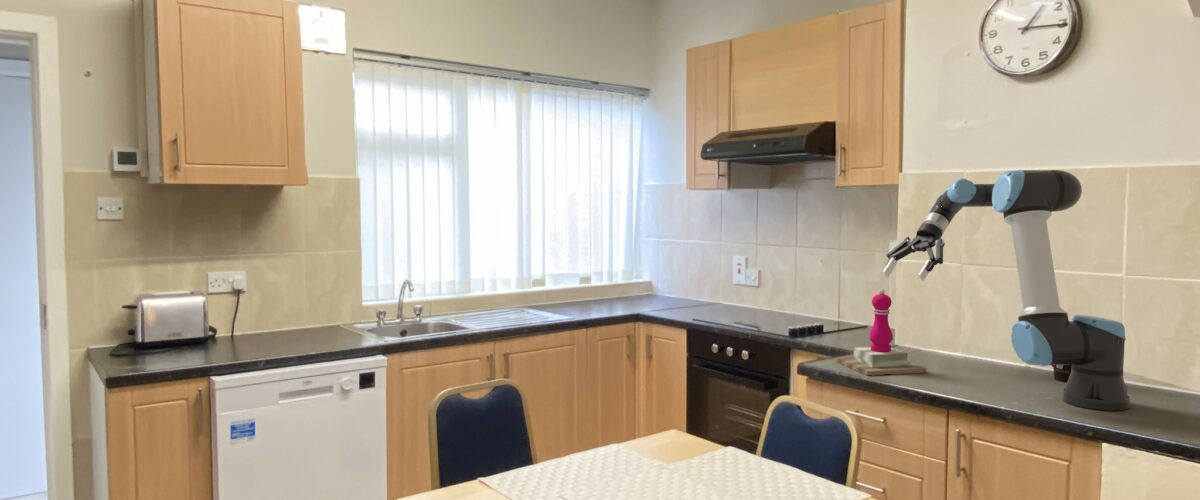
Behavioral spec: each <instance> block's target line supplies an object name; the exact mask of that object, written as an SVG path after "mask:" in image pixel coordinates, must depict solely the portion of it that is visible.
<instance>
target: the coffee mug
mask: <svg viewBox="0 0 1200 500" xmlns="http://www.w3.org/2000/svg"><path fill="white" fill-rule="evenodd" d="M1050 366H1051V367H1052V368H1053V377H1054V380H1055V381H1058V382H1061V383H1067V382H1068V379H1069V377H1070V374H1071V366H1072V365H1050Z"/></svg>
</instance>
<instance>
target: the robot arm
mask: <svg viewBox="0 0 1200 500" xmlns="http://www.w3.org/2000/svg"><path fill="white" fill-rule="evenodd" d="M1082 192H1083V188H1082V184H1081V181H1080V180H1079V178H1077V176H1075V175H1074V174H1072V173H1070V172H1068V171H1065V170H1059V169H1050V170H1047V169H1043V170H1041V169H1040V170H1039V169H1037V170H1036V169H1035V170H1034V169H1030V170H1029V169H1026V170H1025V169H1024V170H1023V169H1017V170H1007V171H1004V172H1003V173H1001V174H1000V175H999V176H998V178H997V179H996V181H995V183H978V184H977V183H974V182H973V181H971V180H968V179H967V178H959V179H957V180H955V181H954V182H953V183H951V184H950V186H948V188H947V189H946V190H945V191H943V192H942V193H941V194H940V195H939V196H938V197H937V199H936V201H935V203H934V204H933V206H932V208H931V209H930V211H929V212H928V214H927V216H926V217H925V218H924V220H923V221H922V223H921V224H920V226H919V228H918V229H917V231H916V235H915V237H914V238H910V237H909V236H906V237H905V238H904V239H903V241H902V242H900V243H899V244H897V246H895V247H894V248H893V249H891V250H890V251H889V252H888V253H886V255H885V256H886V257H887V258H888V261H887V262H886V263H885V264H886V265H885V268H884V269H883V270H882V273H883V275H884V276H885V277H886V278H889V277H890V275H891V274H892V272H893V270H894V269H895V268H896V266H897V264H898V261H899V260H901V259H903V258H904V257H907V256H908V255H911V254H912V253H916V252H923V253H924V252H926V253H927V254H928V258H929V259H927V260H926V262H925V263H924V265H923V266H922V268H921V270H920V271H919V273H918V275H917V276H918V277H919V279H920V280H921V281H925V279H926V278H927V276H928V275H929V274H930V272H932V271H933V269H934V267H935V266H936V265H943V263H944V247H945V246H946V245H945V244H946V243H945V241H944V240H943V238H942V237H943V234H944V233H945V232H946V230H947V229H948V227H949V225H950V224H951V222H952V221H953V219H954V218H955V216H956V215H957V214H958V213H959V211H961V210H962V209H963V208H965V207H966V208H969V207H974V208H975V207H976V208H978V207H979V208H980V207H981V208H982V207H985V208H986V207H992V206H993V209H994V210H995V211H996V212H997V213H1000V214H1003V220H1004V222H1005V223H1006V224H1008V225H1010V227H1011V233H1012V240H1013V241H1012V242H1013V247H1014V254H1015V261H1016V267H1017V268H1016V269H1017V275H1018V280H1019V287H1020V295H1021V302H1022V312H1020V314H1018V315H1017V319H1018V321H1017V322H1015V323H1014V324H1013V326H1012V328H1011V331H1012V332H1011V333H1010V339H1011V344H1012V347H1013V350H1014V352H1015V354H1016V355H1017V356H1018V358H1019V359H1020V360H1021V361H1022V362H1023V363H1025V364H1026V365H1027V364H1028V365H1029V366H1030V365H1031V366H1040V367H1046V366H1047V367H1048V366H1051V365H1072V366H1071V374H1070V377H1069V379H1068V382H1066V385H1065V387H1064V388H1063V390H1062V400H1063V401H1064V402H1065V403H1067V404H1070V405H1072V406H1077V407H1079V408H1084V409H1092V410H1098V411H1110V412H1111V411H1113V412H1114V411H1125V410H1128V409H1130V408H1131V407H1130V406H1131V398H1130V396H1129V395H1128V394H1129V393H1128V389H1127V385H1126V383H1125V380H1124V368H1125V367H1124V365H1125V344H1126V343H1125V342H1126V330H1125V328H1126V327H1125V325H1124V324H1123V323H1122V322H1120V321H1118V320H1114V319H1111V318H1110V319H1108V318H1105V317H1098V316H1091V315H1085V314H1084V315H1083V314H1074V315H1073V318H1072V319H1071V320H1072V321H1071V320H1070V319H1069V315H1068V312H1067V311H1065V310H1064V309H1063V308H1062V307H1061V305H1060V299H1059V293H1058V285H1057V281H1056V273H1055V266H1054V260H1053V254H1052V249H1051V247H1052V246H1051V242H1050V237H1049V236H1050V235H1049V230H1048V220H1049V219H1050V218H1051V217H1052V216H1053V215H1052V214H1053V212H1060V211H1061V212H1062V211H1064V210H1065V211H1066V210H1068V209H1070V208H1072V207H1074V206H1075V205H1076V204H1077V203H1078V202H1079V201H1080V198H1081V197H1082ZM941 206H942V207H941ZM934 247H936V248H935V249H936V251H935V254H934V251H933V248H934Z"/></svg>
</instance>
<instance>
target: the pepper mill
mask: <svg viewBox="0 0 1200 500" xmlns="http://www.w3.org/2000/svg"><path fill="white" fill-rule="evenodd" d="M885 292H886V291H885V290H884V289H879V290H878V293H877V294H875V295H873V297H872V298H871V306H873V309H872V310H873V311H872V314H874V319H873V320H874V321H873V324H872V326H871V329H870V331H869V335H868V338H869V340H870V342H871V343H870V346H869V347H870V349H871V350H872V351H875V352H890V351H891V348H892V346H891V342H893V340H894V338H893V336H894V335H893V331H892V330H891V327H890V324H889V315H890V311H891V310H890V307H891V306H892V302H893V301H892V298H891V297H890V295H887V294H886V293H885Z"/></svg>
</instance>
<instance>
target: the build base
mask: <svg viewBox="0 0 1200 500" xmlns="http://www.w3.org/2000/svg"><path fill="white" fill-rule="evenodd" d="M870 347H871V346H860V347H859V346H857V347H856V346H855V347H853V356H839V357H838V356H837V357H836V363H838V362H840V363H842V364H841V365H843V364H844V365H843V366H845V365H846V366H845V367H847V366H848V367H847V368H849V367H850V369H851V368H852V369H851V370H853V369H854V370H853V371H856V372H858V373H860V372H861V374H862V373H863V374H862V375H864V374H865V375H864V376H866V375H867V377H869V376H868V375H872V376H885V375H884V374H892V375H908V374H909V375H911V374H926V373H927V368H926V367H925V366H922V365H919V364H916V363H914V362H911V361H909V360H908V354H909V353H907V352H904V351H903V350H899V349H897V348H894V347H891V351H890V352H875V351H872V350H871V349H870ZM840 363H839V364H840Z"/></svg>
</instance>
